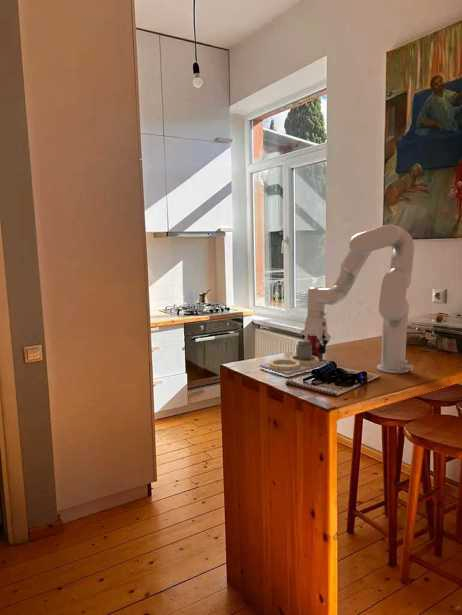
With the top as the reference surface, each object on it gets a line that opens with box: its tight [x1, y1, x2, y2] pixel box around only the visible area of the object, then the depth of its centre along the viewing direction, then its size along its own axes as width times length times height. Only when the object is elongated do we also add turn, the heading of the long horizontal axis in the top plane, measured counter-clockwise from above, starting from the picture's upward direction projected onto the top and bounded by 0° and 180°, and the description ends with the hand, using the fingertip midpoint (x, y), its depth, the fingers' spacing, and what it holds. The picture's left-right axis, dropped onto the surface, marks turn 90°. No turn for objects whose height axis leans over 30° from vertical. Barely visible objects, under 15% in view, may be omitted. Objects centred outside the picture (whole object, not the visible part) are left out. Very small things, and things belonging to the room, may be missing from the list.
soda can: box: [307, 334, 324, 361], centre depth 208 cm, size 7×7×12 cm
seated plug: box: [295, 339, 312, 361], centre depth 198 cm, size 7×7×9 cm
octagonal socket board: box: [259, 354, 329, 375], centre depth 195 cm, size 16×25×4 cm, turn 129°
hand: (314, 351), depth 209 cm, fingers open, 8 cm apart
